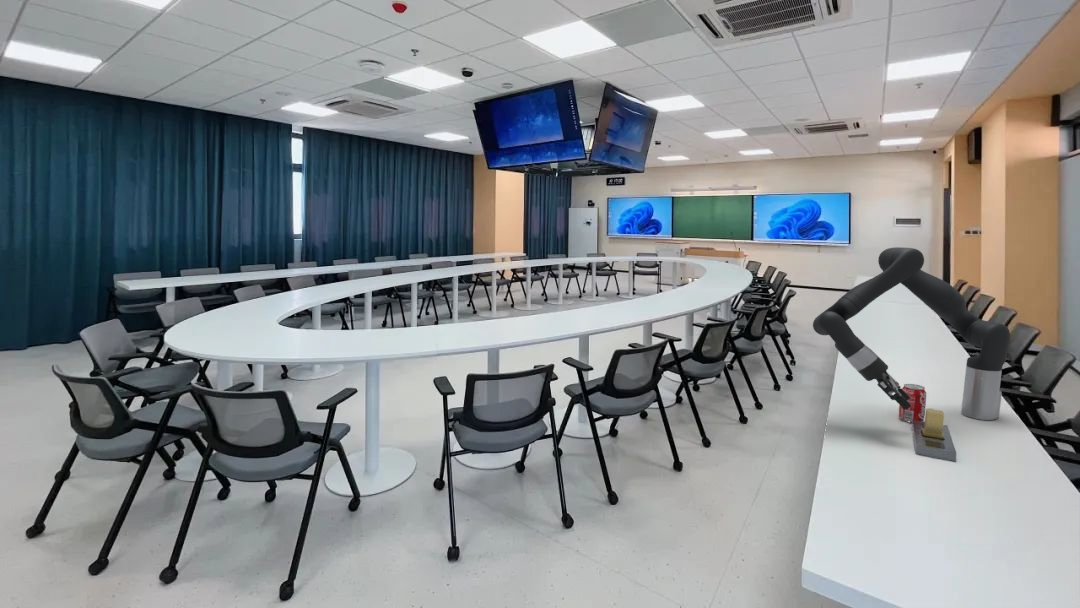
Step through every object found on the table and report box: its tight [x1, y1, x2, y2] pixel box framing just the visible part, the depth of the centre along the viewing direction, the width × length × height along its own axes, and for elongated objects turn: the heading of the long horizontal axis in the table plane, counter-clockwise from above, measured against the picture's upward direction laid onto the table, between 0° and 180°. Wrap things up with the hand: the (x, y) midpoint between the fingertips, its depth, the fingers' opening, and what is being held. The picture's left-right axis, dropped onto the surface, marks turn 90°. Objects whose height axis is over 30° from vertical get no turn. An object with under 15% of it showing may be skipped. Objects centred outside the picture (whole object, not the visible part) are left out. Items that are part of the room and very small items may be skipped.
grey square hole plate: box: [911, 420, 957, 462], centre depth 153 cm, size 24×9×3 cm, turn 146°
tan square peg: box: [922, 407, 945, 440], centre depth 153 cm, size 5×5×10 cm
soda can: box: [898, 383, 927, 423], centre depth 171 cm, size 7×7×12 cm
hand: (907, 403), depth 156 cm, fingers open, 8 cm apart
